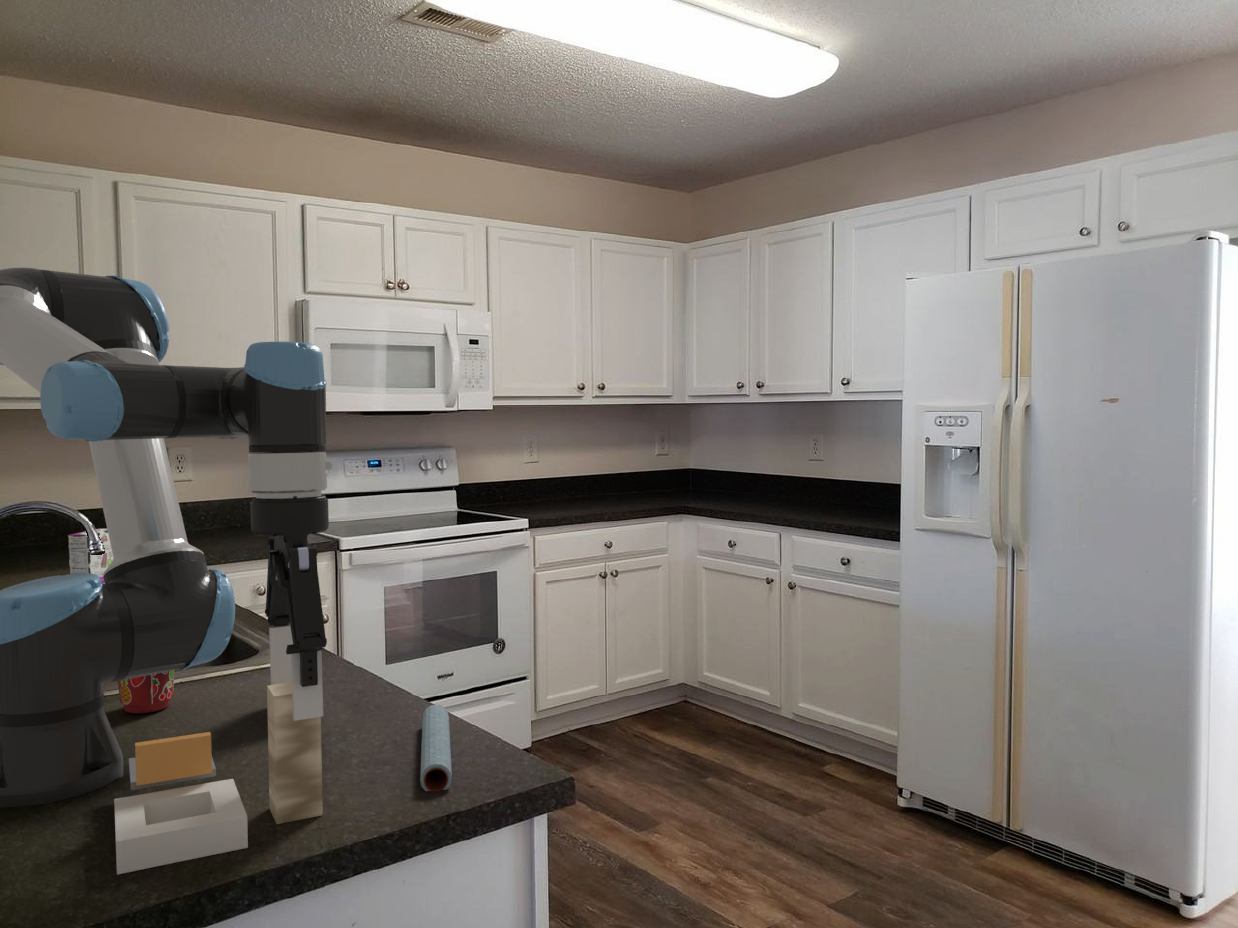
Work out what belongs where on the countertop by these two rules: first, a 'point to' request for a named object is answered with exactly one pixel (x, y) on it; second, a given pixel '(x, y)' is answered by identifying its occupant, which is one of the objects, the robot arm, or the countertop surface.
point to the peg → (292, 759)
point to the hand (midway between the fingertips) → (295, 701)
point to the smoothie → (147, 692)
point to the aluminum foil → (435, 749)
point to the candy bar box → (83, 559)
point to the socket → (178, 825)
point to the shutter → (171, 761)
